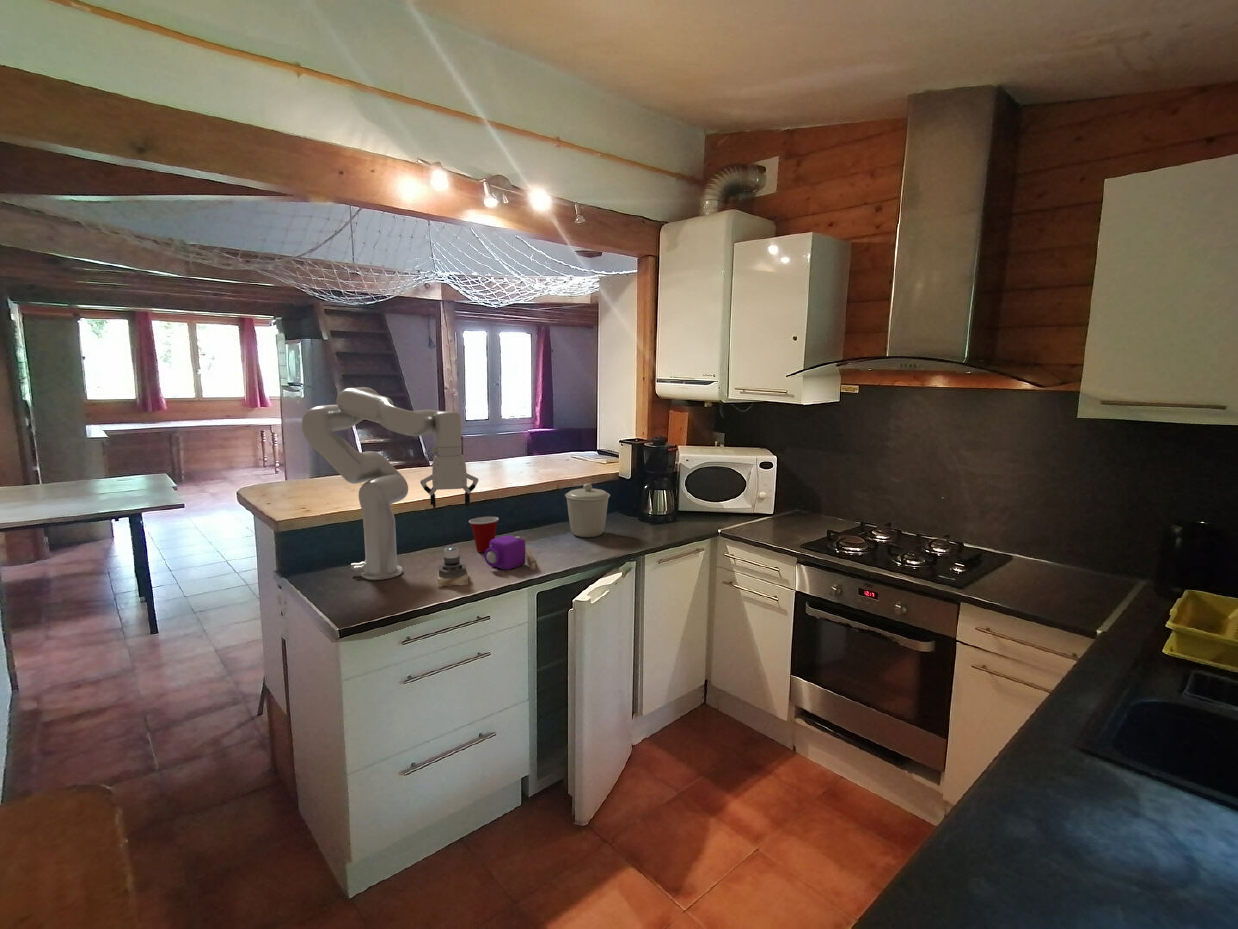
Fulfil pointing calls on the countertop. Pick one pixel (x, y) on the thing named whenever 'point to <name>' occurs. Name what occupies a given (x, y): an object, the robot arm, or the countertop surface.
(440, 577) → the mount
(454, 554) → the lens
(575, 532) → the canister
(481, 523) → the plastic cup
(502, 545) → the toy camera
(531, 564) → the rail
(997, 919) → the countertop surface
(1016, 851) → the countertop surface
